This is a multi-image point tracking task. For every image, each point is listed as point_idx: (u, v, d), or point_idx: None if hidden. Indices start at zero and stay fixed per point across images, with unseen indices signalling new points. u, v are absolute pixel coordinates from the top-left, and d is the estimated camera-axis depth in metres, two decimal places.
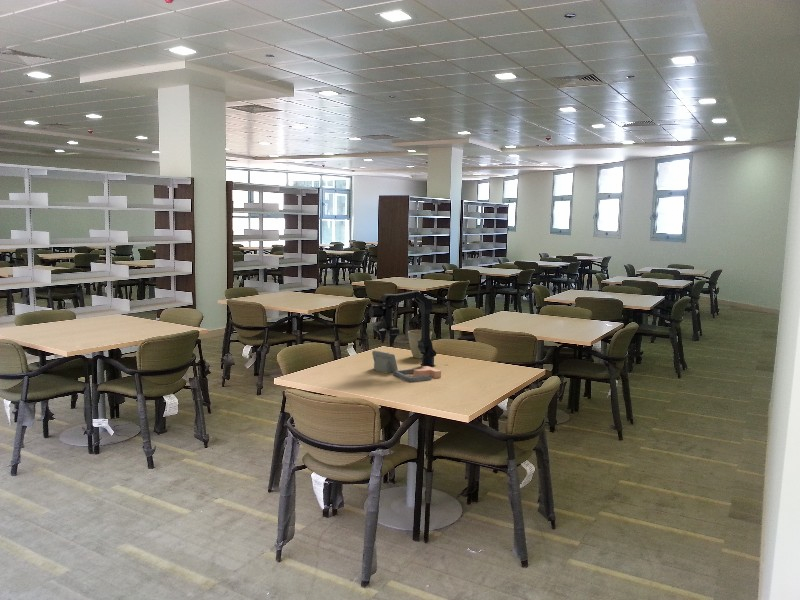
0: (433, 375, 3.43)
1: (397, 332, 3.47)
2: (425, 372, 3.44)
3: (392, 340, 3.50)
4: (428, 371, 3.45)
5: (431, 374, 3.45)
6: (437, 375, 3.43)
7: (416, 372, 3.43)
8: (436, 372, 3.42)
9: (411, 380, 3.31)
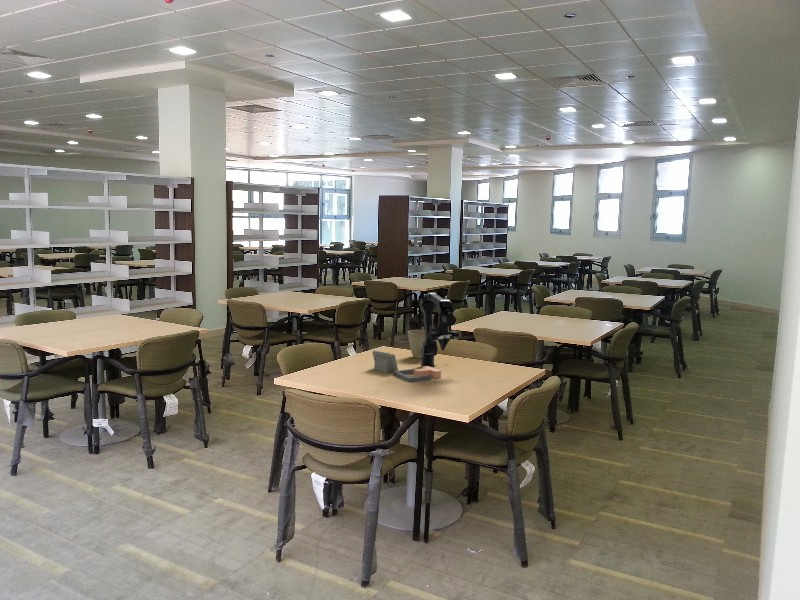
0: (433, 375, 3.43)
1: (430, 337, 3.44)
2: (425, 372, 3.44)
3: (441, 345, 3.49)
4: (428, 371, 3.45)
5: (431, 374, 3.45)
6: (437, 375, 3.43)
7: (416, 372, 3.43)
8: (436, 372, 3.42)
9: (411, 380, 3.31)
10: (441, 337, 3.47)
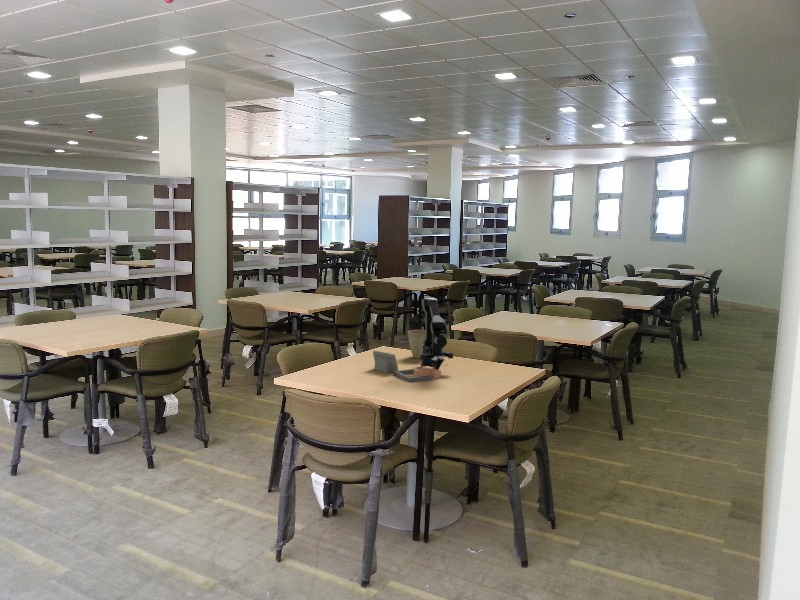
0: (433, 375, 3.43)
1: (424, 358, 3.43)
2: (425, 372, 3.44)
3: (435, 366, 3.49)
4: (428, 371, 3.45)
5: (431, 374, 3.45)
6: (437, 375, 3.43)
7: (416, 372, 3.43)
8: (436, 372, 3.42)
9: (411, 380, 3.31)
10: (435, 358, 3.46)
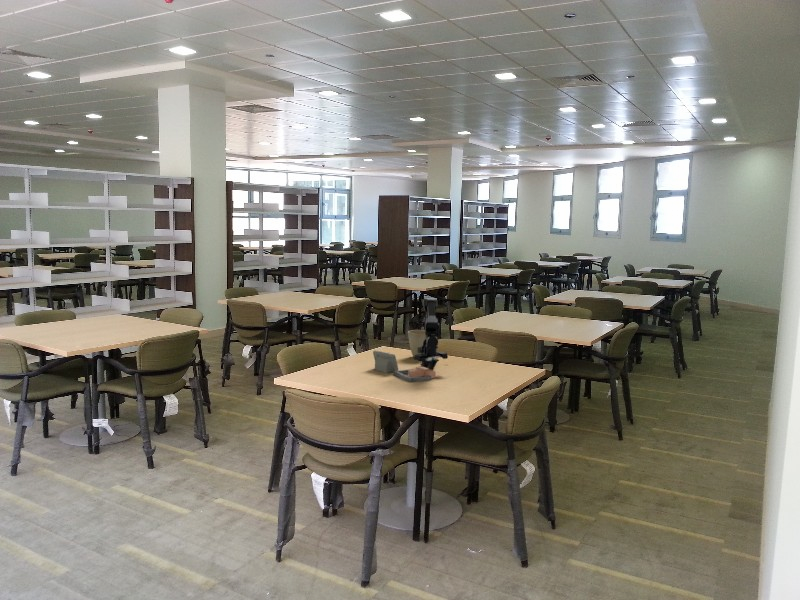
0: None
1: (418, 359, 3.41)
2: (420, 373, 3.42)
3: (429, 366, 3.47)
4: (423, 372, 3.43)
5: (426, 375, 3.43)
6: (432, 376, 3.41)
7: (410, 373, 3.41)
8: (431, 373, 3.40)
9: (411, 380, 3.31)
10: (429, 359, 3.44)
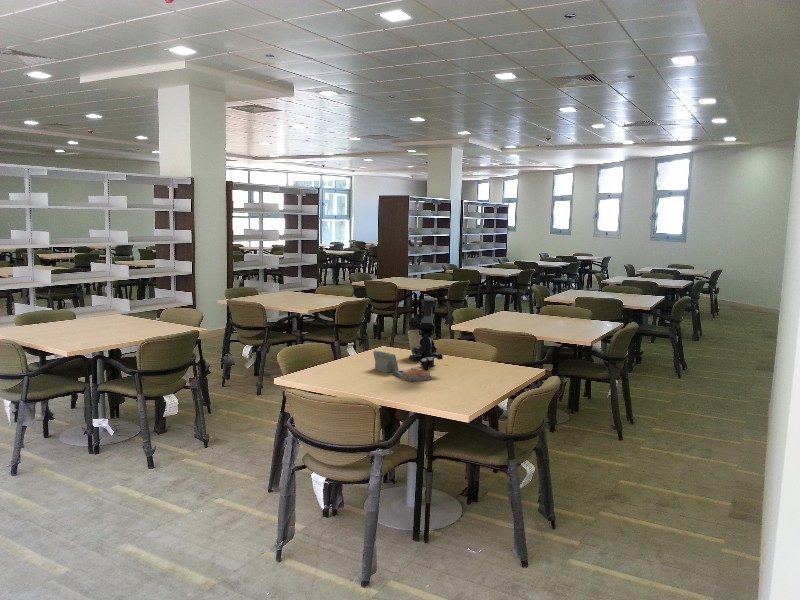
0: None
1: (412, 359, 3.39)
2: (414, 373, 3.40)
3: (424, 367, 3.45)
4: (417, 372, 3.41)
5: (420, 375, 3.41)
6: None
7: (405, 373, 3.39)
8: (425, 373, 3.38)
9: (411, 380, 3.31)
10: (424, 359, 3.42)
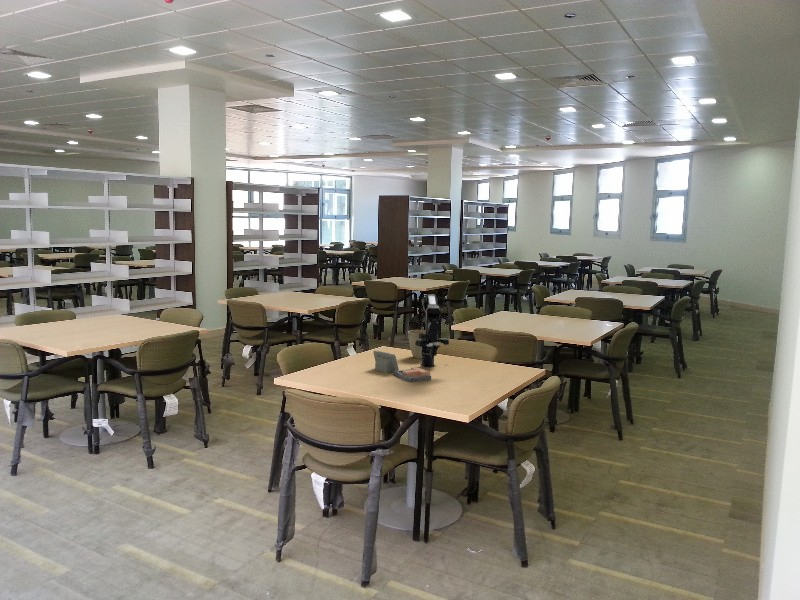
0: None
1: (419, 344, 3.40)
2: (414, 373, 3.40)
3: (430, 352, 3.46)
4: (417, 372, 3.41)
5: (420, 375, 3.41)
6: None
7: (405, 373, 3.39)
8: (425, 373, 3.38)
9: (411, 380, 3.31)
10: (430, 344, 3.43)
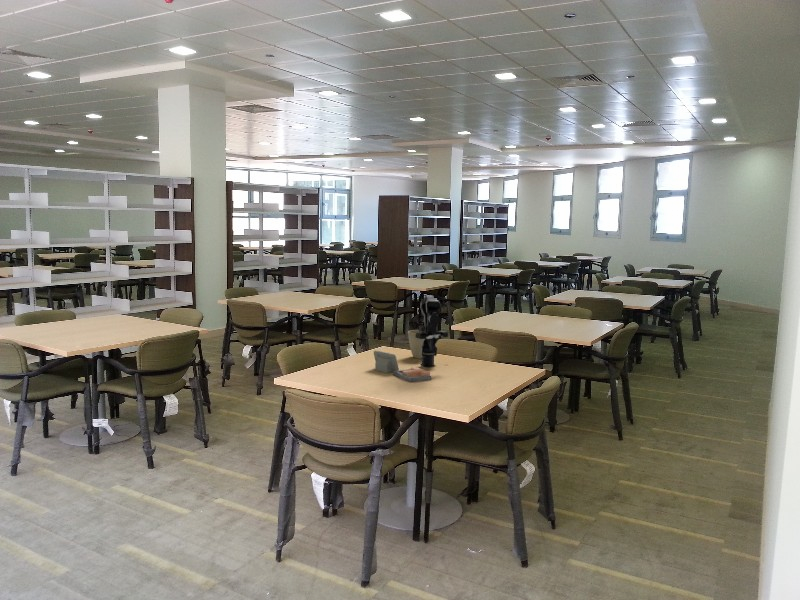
0: None
1: (419, 337, 3.50)
2: (414, 373, 3.40)
3: (430, 344, 3.55)
4: (417, 372, 3.41)
5: (420, 375, 3.41)
6: None
7: (405, 373, 3.39)
8: (425, 373, 3.38)
9: (411, 380, 3.31)
10: (430, 337, 3.52)
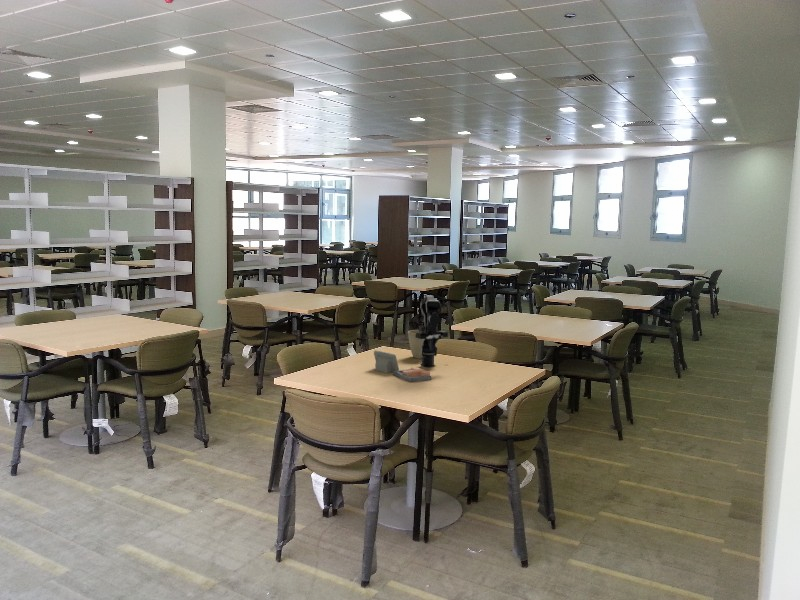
0: None
1: (419, 337, 3.50)
2: (414, 373, 3.40)
3: (430, 344, 3.55)
4: (417, 372, 3.41)
5: (420, 375, 3.41)
6: None
7: (405, 373, 3.39)
8: (425, 373, 3.38)
9: (411, 380, 3.31)
10: (430, 337, 3.52)
